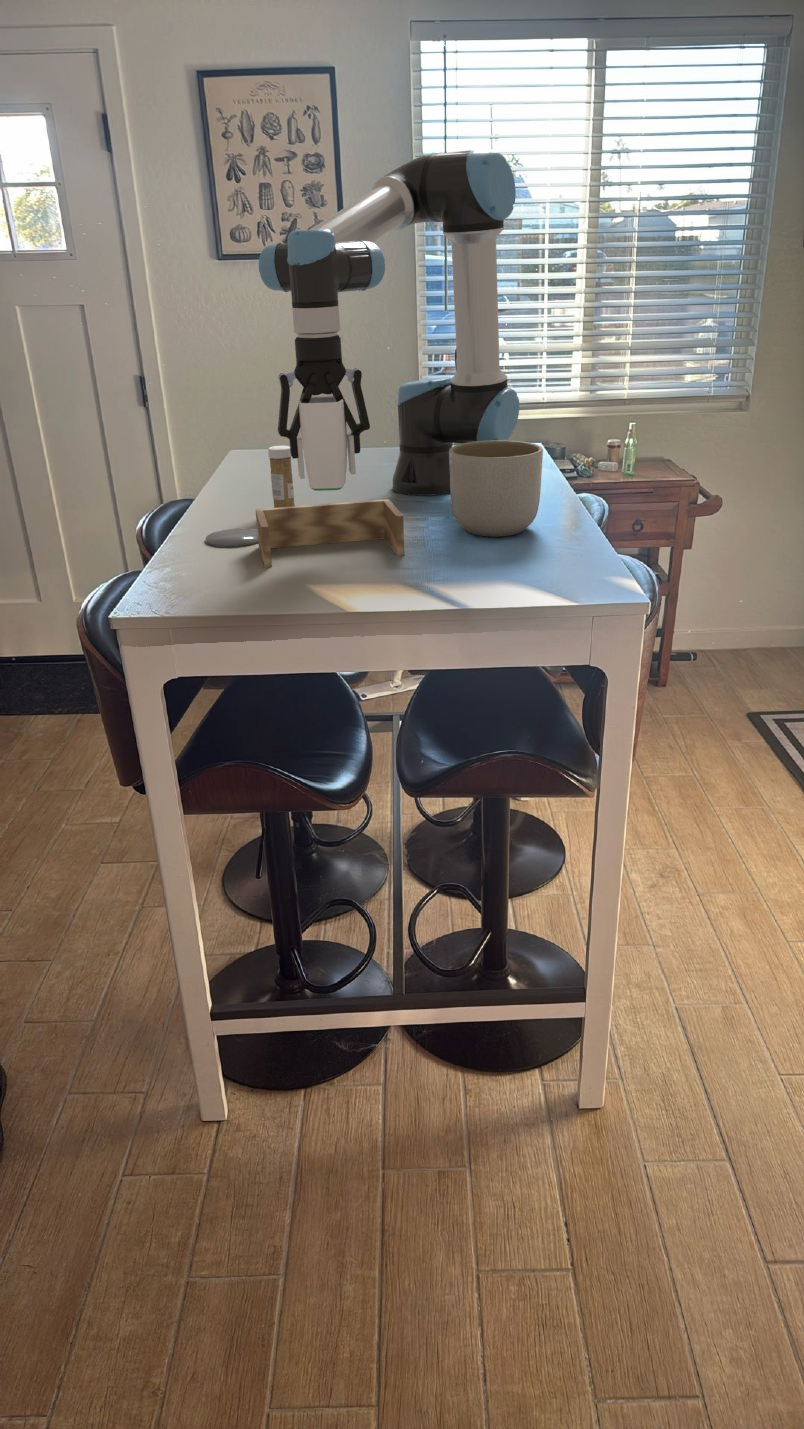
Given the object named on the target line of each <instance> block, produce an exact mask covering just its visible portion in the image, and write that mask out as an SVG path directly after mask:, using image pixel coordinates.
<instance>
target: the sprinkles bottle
mask: <svg viewBox="0 0 804 1429" xmlns="http://www.w3.org/2000/svg"><path fill="white" fill-rule="evenodd" d="M267 452H268V453H267V454H268V459H269V465H270V479H271V480H270V481H271V490H272V491H271V492H272V499H273V508H280V507H293V506H296V505H295V490H294V481H293V480H294V479H293V478H294V477H293V469H292V456H291V453H290V445H273V446H270V447H268V449H267Z"/></svg>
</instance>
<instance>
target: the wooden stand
mask: <svg viewBox="0 0 804 1429" xmlns="http://www.w3.org/2000/svg"><path fill="white" fill-rule="evenodd" d="M255 520H256V530H257V532H258V543H257V544H258V549H259V552H260V556H261V559H262V562H263V566H264V568H272V567H273V564H272V562H273V561H272V553H271V552H272V551H271V550H272V549H278V548H288V547H302V546H311V545H312V546H314V545H324V544H325V545H326V544H336V543H350V542H361V541H372V540H383V539H384V540H385V541H386V542H387V544H388V545H389V546H390V547H391V549H392V550H393V551H394V552H395V554H396V556H398V557H400V556H405V526H404V515H403V514H402V512H400V510H399V509H398V508H397V507H396V506H395V504H394V503H393V502H392V501H391V500H390V499H389V498H386V499H373V500H361V501H360V500H359V501H348V502H335V503H333V502H332V503H320V504H308V505H307V504H306V505H295V506H293V507H280V508H274V507H269V508H258V509H256V508H255Z"/></svg>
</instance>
